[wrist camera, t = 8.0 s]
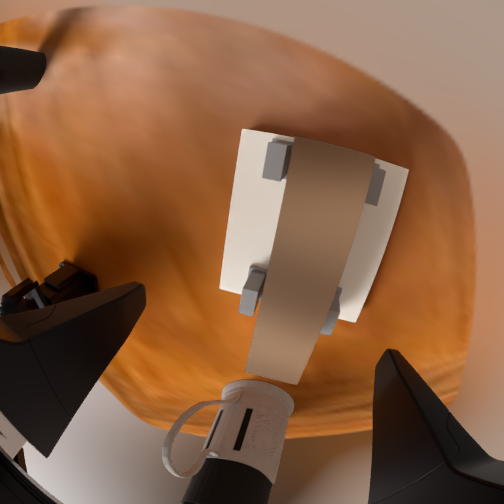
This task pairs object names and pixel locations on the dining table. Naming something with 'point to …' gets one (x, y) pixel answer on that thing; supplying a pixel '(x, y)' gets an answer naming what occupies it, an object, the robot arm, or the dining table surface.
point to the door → (308, 254)
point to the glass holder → (237, 445)
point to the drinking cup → (20, 69)
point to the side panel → (266, 219)
